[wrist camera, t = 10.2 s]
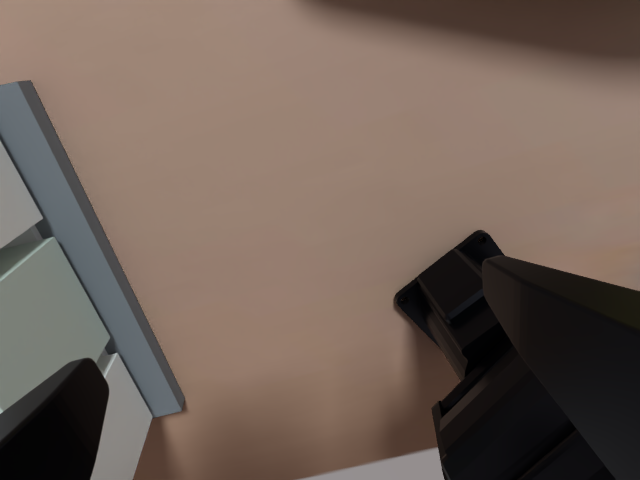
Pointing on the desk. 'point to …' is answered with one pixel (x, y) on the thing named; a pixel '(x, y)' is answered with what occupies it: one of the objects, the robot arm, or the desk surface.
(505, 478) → the robot arm
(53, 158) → the rail board
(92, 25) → the desk surface
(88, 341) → the block
